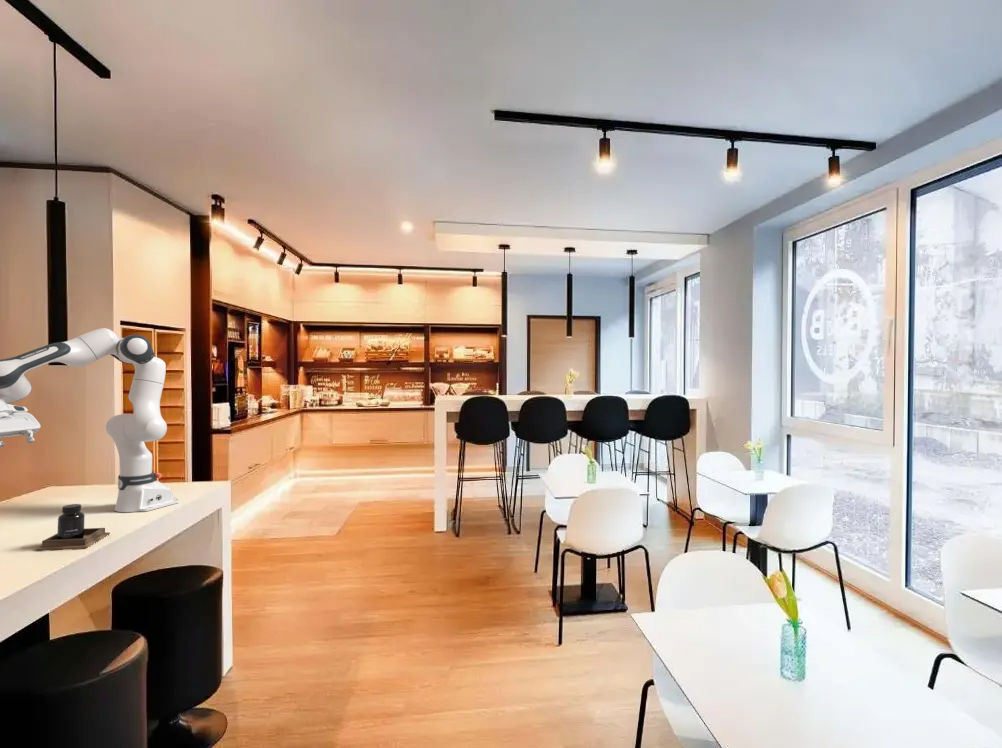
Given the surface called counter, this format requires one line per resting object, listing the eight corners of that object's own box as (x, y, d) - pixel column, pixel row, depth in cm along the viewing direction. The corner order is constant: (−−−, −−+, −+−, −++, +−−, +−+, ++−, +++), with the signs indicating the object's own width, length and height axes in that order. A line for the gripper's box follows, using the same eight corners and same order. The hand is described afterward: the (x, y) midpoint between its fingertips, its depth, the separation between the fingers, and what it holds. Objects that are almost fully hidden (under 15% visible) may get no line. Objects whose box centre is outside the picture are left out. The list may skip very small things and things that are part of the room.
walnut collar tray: (63, 536, 176) (63, 528, 176) (109, 534, 179) (109, 526, 179) (36, 551, 162) (36, 542, 162) (86, 548, 165) (86, 540, 165)
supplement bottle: (68, 546, 165) (68, 509, 165) (51, 543, 167) (52, 507, 166) (89, 539, 172) (89, 503, 172) (73, 537, 173) (73, 502, 173)
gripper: (-37, 411, 169) (-13, 442, 167) (30, 406, 189) (52, 434, 187) (-47, 424, 170) (-24, 454, 168) (21, 418, 190) (42, 445, 188)
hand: (16, 444), depth 178 cm, fingers open, 8 cm apart
